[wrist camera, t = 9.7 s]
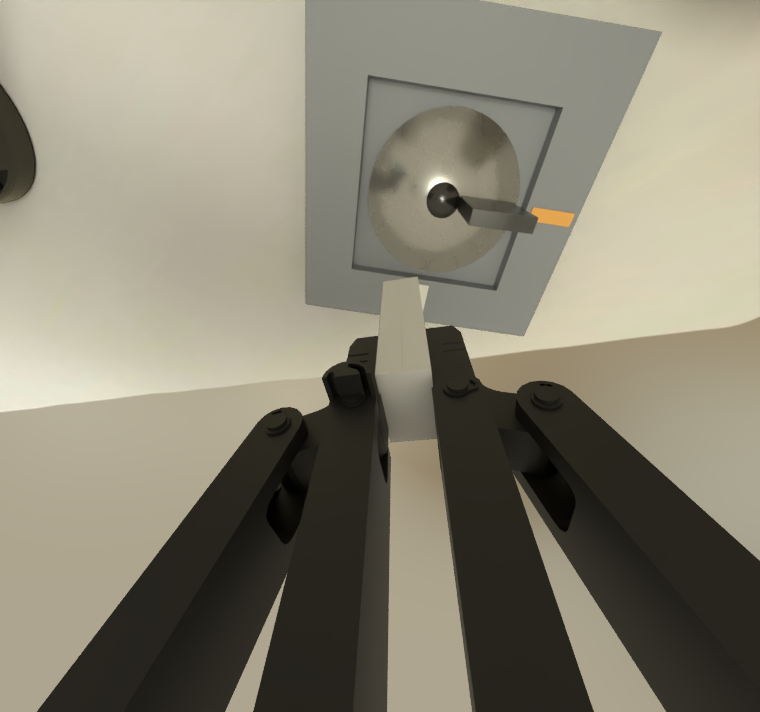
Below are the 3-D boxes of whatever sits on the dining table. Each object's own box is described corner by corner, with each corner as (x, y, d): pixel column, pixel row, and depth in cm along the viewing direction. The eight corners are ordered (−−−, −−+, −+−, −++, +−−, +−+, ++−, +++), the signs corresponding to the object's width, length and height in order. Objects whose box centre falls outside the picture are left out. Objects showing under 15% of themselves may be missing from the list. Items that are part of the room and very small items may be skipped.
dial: (489, 275, 35) (510, 309, 28) (363, 258, 35) (354, 288, 28) (539, 119, 27) (585, 112, 20) (378, 96, 27) (369, 82, 20)
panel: (311, 293, 40) (305, 304, 37) (315, -14, 25) (304, -32, 22) (516, 324, 40) (524, 337, 38) (637, 42, 26) (664, 31, 23)
